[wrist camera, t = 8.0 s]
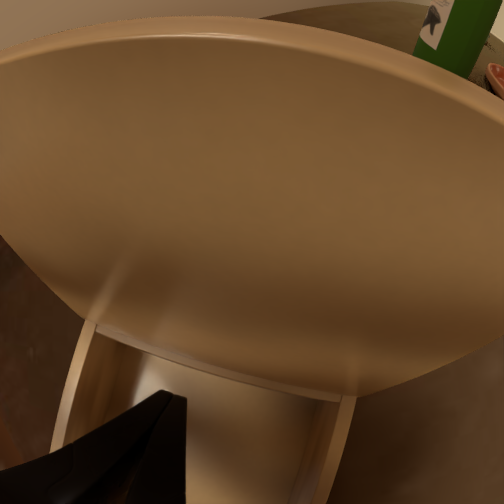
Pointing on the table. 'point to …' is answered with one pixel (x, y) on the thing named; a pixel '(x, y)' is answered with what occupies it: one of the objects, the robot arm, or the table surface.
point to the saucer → (496, 78)
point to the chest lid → (258, 196)
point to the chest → (213, 420)
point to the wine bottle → (456, 33)
